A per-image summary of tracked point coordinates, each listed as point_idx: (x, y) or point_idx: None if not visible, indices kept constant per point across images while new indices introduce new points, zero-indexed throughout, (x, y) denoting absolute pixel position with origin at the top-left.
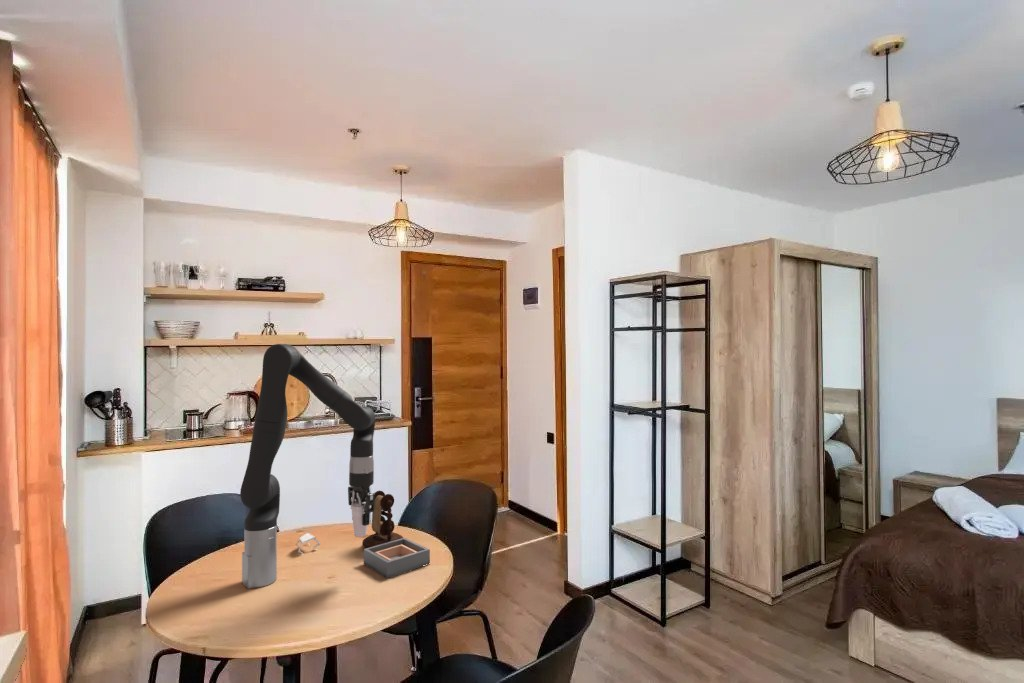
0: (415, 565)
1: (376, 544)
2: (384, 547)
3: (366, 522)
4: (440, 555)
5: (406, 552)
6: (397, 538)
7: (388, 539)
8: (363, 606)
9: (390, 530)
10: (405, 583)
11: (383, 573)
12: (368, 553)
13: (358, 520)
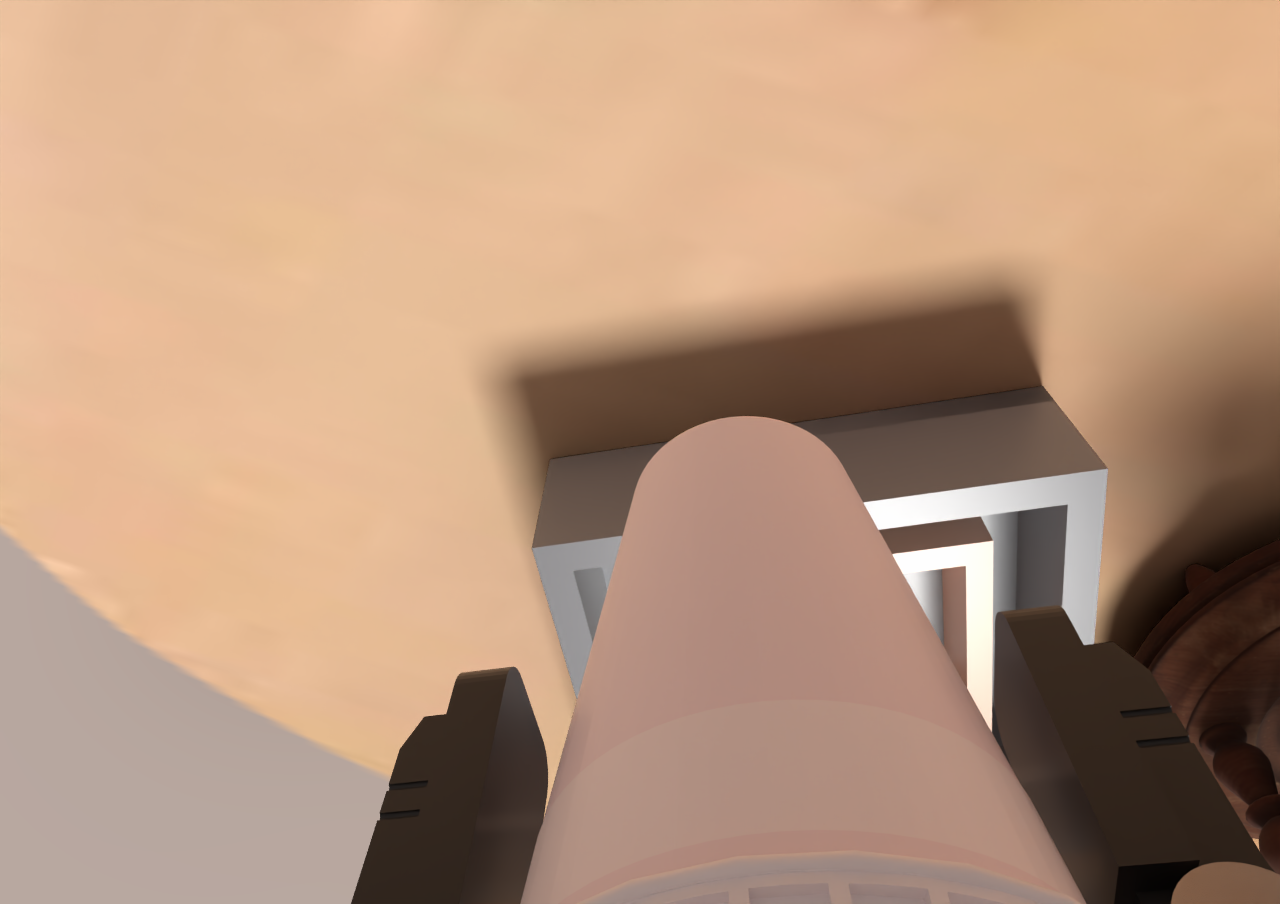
0: None
1: (1254, 620)
2: None
3: (408, 770)
4: None
5: None
6: None
7: (1229, 739)
8: (10, 71)
9: (1260, 833)
10: (369, 538)
11: (628, 459)
12: (973, 476)
13: (589, 686)
